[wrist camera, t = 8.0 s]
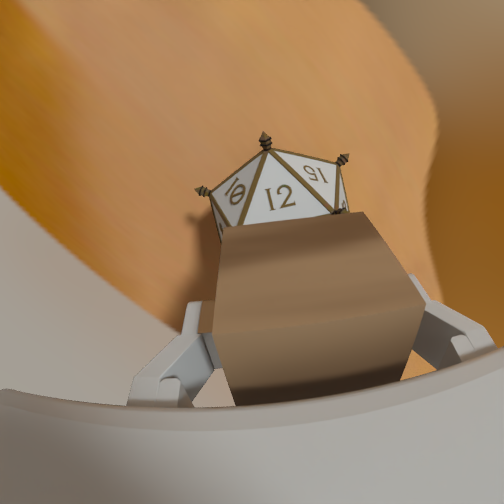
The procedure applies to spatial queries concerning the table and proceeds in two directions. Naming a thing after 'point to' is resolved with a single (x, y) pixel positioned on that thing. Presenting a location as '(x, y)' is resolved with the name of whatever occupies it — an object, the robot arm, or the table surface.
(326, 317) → the walnut cube
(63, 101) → the table surface
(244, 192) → the game die
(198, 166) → the table surface
